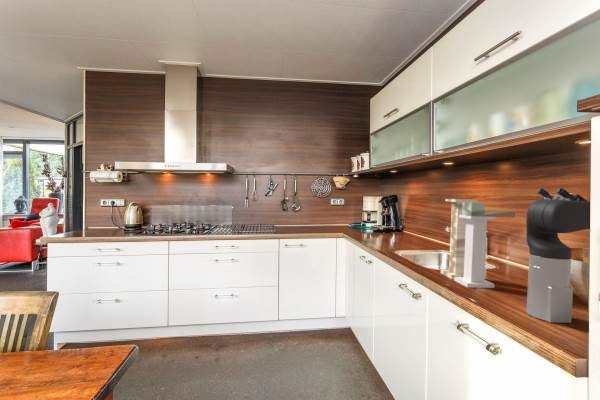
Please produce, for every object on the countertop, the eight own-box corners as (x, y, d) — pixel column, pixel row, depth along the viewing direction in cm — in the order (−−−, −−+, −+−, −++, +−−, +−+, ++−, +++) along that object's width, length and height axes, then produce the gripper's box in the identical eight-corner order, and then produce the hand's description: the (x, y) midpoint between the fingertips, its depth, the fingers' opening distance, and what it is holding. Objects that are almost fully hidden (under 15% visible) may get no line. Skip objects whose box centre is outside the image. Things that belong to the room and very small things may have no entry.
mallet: (518, 217, 115) (519, 204, 115) (471, 216, 114) (471, 202, 114) (507, 216, 121) (507, 203, 121) (462, 215, 120) (462, 202, 120)
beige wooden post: (476, 279, 125) (479, 200, 124) (451, 279, 124) (455, 199, 123) (463, 273, 134) (466, 199, 133) (440, 273, 133) (443, 198, 132)
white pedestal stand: (494, 288, 114) (497, 217, 113) (467, 287, 113) (470, 216, 113) (479, 281, 123) (482, 215, 122) (454, 280, 122) (457, 214, 122)
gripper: (597, 223, 109) (560, 199, 108) (561, 220, 123) (528, 198, 123) (608, 205, 109) (571, 180, 108) (571, 204, 123) (538, 182, 123)
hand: (548, 190), depth 116 cm, fingers open, 8 cm apart
